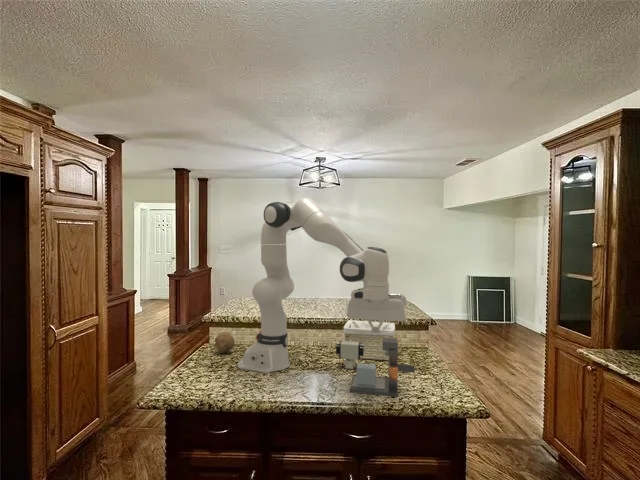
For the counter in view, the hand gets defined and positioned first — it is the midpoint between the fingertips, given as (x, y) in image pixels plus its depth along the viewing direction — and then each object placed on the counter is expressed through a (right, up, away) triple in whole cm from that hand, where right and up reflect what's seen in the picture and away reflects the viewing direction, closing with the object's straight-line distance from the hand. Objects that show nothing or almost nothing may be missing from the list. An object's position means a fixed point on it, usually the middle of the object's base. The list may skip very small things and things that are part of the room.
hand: (375, 332), depth 127 cm
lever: (+6, -16, +1) cm, 17 cm away
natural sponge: (-65, -22, +46) cm, 83 cm away
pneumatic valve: (-7, -23, +29) cm, 37 cm away
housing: (-2, -21, +10) cm, 24 cm away
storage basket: (+4, -23, +46) cm, 52 cm away
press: (+4, -23, +9) cm, 25 cm away
